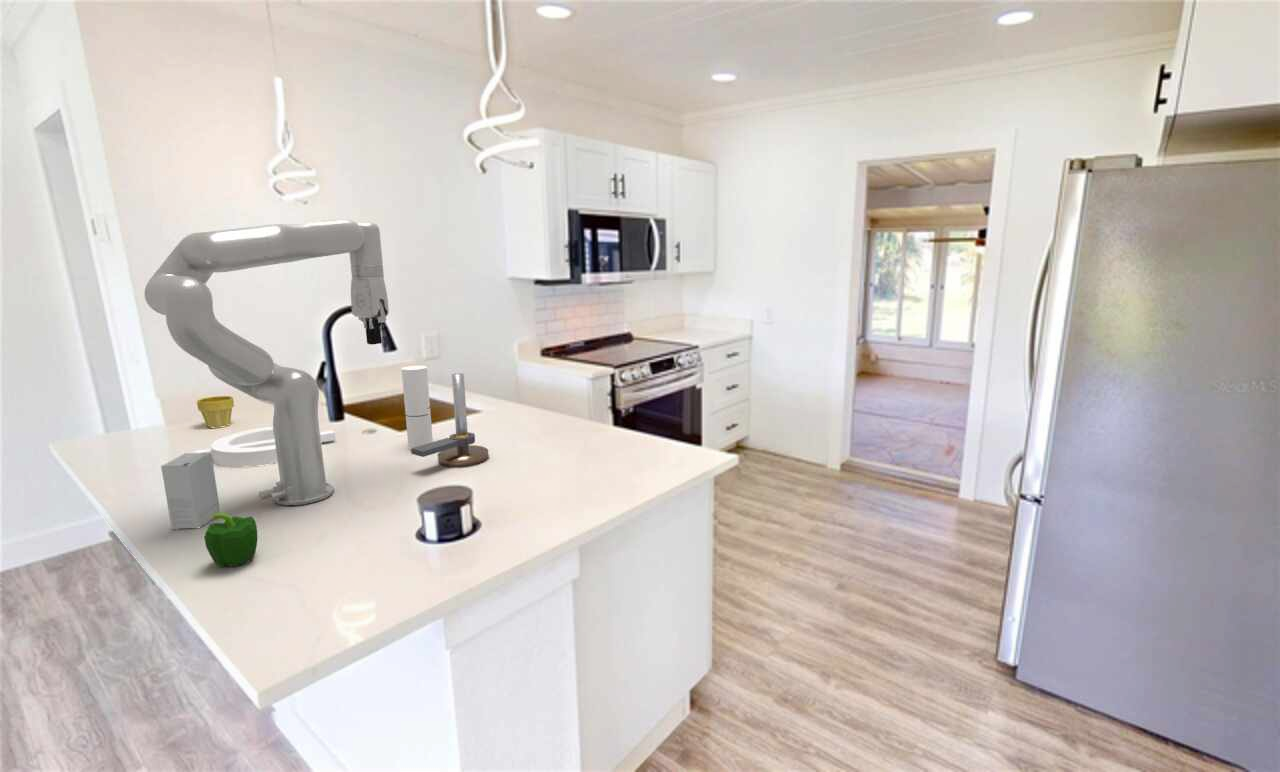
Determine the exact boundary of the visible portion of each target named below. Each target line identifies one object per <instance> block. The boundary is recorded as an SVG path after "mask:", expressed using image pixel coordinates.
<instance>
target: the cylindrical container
mask: <svg viewBox="0 0 1280 772" xmlns="http://www.w3.org/2000/svg"><path fill="white" fill-rule="evenodd" d="M427 367H428V366H426V365H410V366H404V367H401V378H402V380H401V381H402V389H403V401H404V402H403V403H404V412H405V424H406V435H407V436H406V437H407V445H408V447H407V448H408V450H409V451H411V448H414V447H418V446H421V445H424V444H428V443H431V442H434V439H433V428H432V427H433V426H432V417H431V414H432V413H431V404H430V389H429V388H430V387H429V380H428V379H429V376H428V368H427Z"/></svg>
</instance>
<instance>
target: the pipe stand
mask: <svg viewBox="0 0 1280 772" xmlns="http://www.w3.org/2000/svg"><path fill="white" fill-rule="evenodd" d="M451 381H452V393H453V394H452V397H453V407H454V409H453V410H454V423H455V424H454V425H455V433H456V435H455V436H456V438H465V437H468V436H469V434H468V432H469V431H468V417H467V405H466V404H467V403H466V388H465V373H462V372H461V373H460V372H459V373H452V374H451ZM487 459H488V460H489V459H490V457H489V449H488V448H487V447H485V446H482V445H474V444H470V445H466V446H457V447H454V448H450V449H447V450H444V451H441V452H438V454H437V462H438V464H439V465H440V466H442V467H446V468H467V467H473V466H477V465H480V463H481V464H483V463H485V462H487V461H488V460H487Z"/></svg>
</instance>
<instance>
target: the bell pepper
mask: <svg viewBox="0 0 1280 772" xmlns="http://www.w3.org/2000/svg"><path fill="white" fill-rule="evenodd" d="M212 518H213V519H212V520H214V521H217V520H218V519H222V520H224V522H215V523H210V525H209V526H208V528H207V529H206V532H205V534H204V538H203V539H204V542H205V547H206V550H207V552H208V553H209V556H210V558H211V560H212V561H213V562H214V564H215V565H216V566H218V567H226V566H229V567H238V566H242V565H244V564H247V563H249V562H250V561H251V560H253V558H254V557H255V555H256V551H257V547H258V546H257V545H258V528H257V527H258V526H257V524H256V523H257V522H256V520H255V518H253V516H247V517H238V516H235V515H234V516H230V515H229V514H226V513H219V514H215V515H213V516H212ZM248 561H249V562H248Z"/></svg>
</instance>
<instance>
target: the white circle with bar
mask: <svg viewBox="0 0 1280 772" xmlns="http://www.w3.org/2000/svg"><path fill="white" fill-rule="evenodd" d="M320 437H321V445H322V443H323V442H324V443H325V442H331V441H336V433H335V431H334V430H327V431H326V430H325V431H320ZM194 453H211V454H212V461H213V463H214V462H215V463H216V464H215V463H214V464H215V465H217V464H219V465H218V466H220V465H223V466H222V467H225V466H229V467H228V468H244V467H243V466H255V467H258V466H257V465H264V466H266V465H265V464H271V463H277V462H278V460H277V453H276V446H275V438H274V432H273V426H266V427H259V428H253V429H249V430H242V431H240V432H236V433H232V434H229V435H225V436H223V437H221V438H218V439H216V440H215V441H213V442H212V443H211V445H210V448H205V449H204V448H203V449H199V450H198V449H197V450H195V451H194ZM277 464H278V463H277ZM271 465H272V464H271Z"/></svg>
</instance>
